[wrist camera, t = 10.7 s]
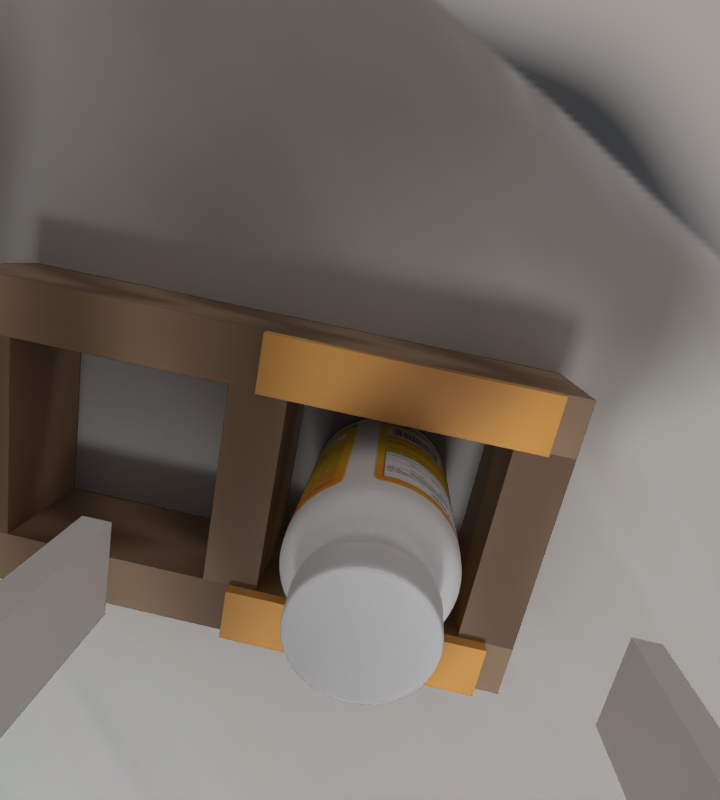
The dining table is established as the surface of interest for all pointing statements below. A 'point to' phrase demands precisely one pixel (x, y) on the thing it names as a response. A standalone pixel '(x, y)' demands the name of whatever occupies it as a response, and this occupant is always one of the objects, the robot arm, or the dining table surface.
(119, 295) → the rack
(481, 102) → the dining table surface
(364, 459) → the supplement bottle
